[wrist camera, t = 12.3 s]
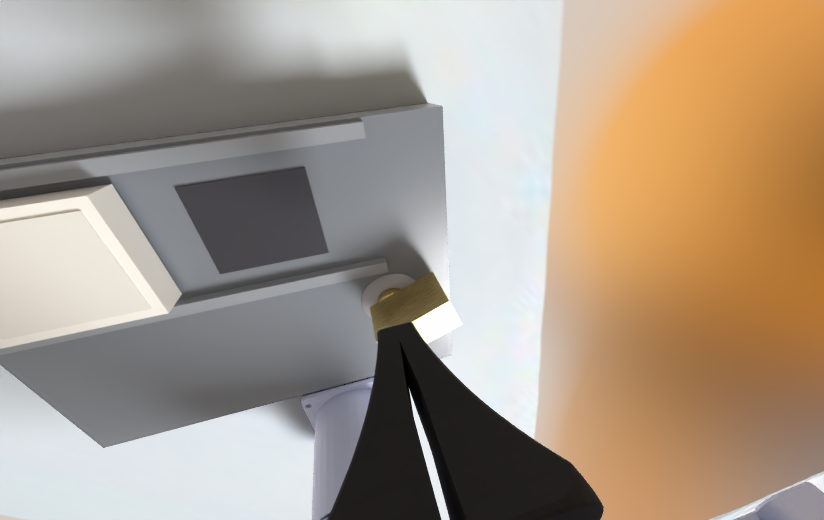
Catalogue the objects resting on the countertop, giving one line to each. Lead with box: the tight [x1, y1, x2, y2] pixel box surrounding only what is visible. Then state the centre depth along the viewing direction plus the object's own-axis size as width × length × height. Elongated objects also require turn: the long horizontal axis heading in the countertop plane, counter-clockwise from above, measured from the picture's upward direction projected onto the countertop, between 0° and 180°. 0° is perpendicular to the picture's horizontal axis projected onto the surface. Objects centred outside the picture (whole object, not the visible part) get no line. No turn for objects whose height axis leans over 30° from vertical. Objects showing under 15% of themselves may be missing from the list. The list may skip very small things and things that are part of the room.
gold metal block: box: [370, 272, 462, 344], centre depth 18 cm, size 4×2×4 cm, turn 117°
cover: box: [0, 184, 182, 349], centre depth 13 cm, size 6×7×2 cm
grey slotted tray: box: [0, 103, 452, 448], centre depth 18 cm, size 18×25×4 cm
